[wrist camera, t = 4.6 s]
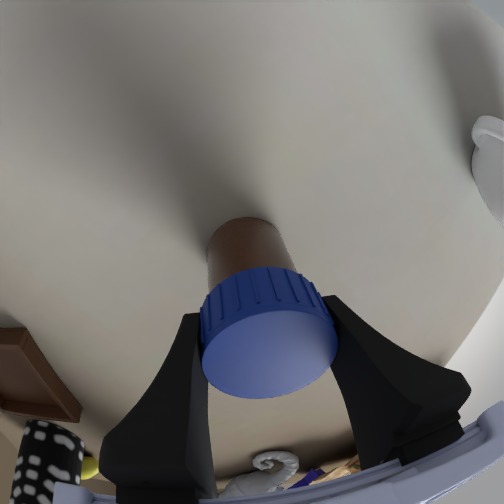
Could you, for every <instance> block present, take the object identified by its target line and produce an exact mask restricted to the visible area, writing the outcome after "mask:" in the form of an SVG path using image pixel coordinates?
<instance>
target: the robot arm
mask: <svg viewBox="0 0 504 504" xmlns="http://www.w3.org/2000/svg"><path fill="white" fill-rule="evenodd" d="M322 299H323V301H324V303H325V306H326V308H327V310H328V312H329V314H330V316H331V318H332V320H333V322H334V324H335V325H333V327H334V329H335V331H336V334H337V337H338V350H337V353H336V356H335V358H334V360H333V362H332V364H331V365H330V367H331V370H332V372H333V374H334V376H335V379H336V381H337V383H338V385H339V388H340V390H341V393H342V395H343V398H344V401H345V405H346V408H347V411H348V415H349V419H350V422H351V426H352V430H353V434H354V439H355V443H356V447H357V452H358V458H359V463H360V469H361V471H360V472H357V473H354V474H350V475H347V476H343V477H340V478H336V479H332V480H328V481H325V482H320V483H316V484H312V485H307V486H303V487H298V488H293V489H288V490H282V491H276V492H270V493H263V494H256V495H248V496H239V497H228V498H218V492H217V486H216V480H215V474H214V467H213V460H212V452H211V444H210V435H209V426H208V380H207V378H206V377H205V375H204V373H203V370H202V365H201V341H200V313H190V314H185V315H184V316H183V318H182V321H181V324H180V327H179V330H178V333H177V335H176V338H175V340H174V342H173V344H172V347H171V349H170V351H169V353H168V355H167V357H166V359H165V361H164V363H163V365H162V367H161V368H160V370H159V372H158V374H157V375H156V377H155V379H154V380H153V382H152V383H151V385H150V386H149V388H148V389H147V390H146V392H145V393H144V395H143V396H142V397H141V399H140V400H139V401H138V403H137V404H136V405H135V406H134V407H133V408H132V410H131V411H130V412H129V413H128V414H127V415H126V416H125V417H124V419H123V420H122V421H121V422H120V423H119V424H118V425H116V426H115V427H114V428H113V429H112V430H111V431H110V432H109V433H108V434H107V435H106V436H105V437H104V439H103V442H102V446H101V450H100V457H99V466H98V469H99V472H100V473H101V474H102V475H103V476H104V477H105V478H107V479H108V480H109V481H111V482H112V483H114V484H115V485H116V496H109V495H102V494H95V493H92V492H91V491H90V490H88V489H86V488H84V487H81V486H77V485H72V484H66V483H62V482H55V487H54V496H53V504H429V503H431V502H433V501H434V500H436V499H438V498H440V497H442V496H444V495H446V494H447V493H449V492H450V491H452V490H454V489H456V488H458V487H459V486H461V485H463V484H464V483H466V482H467V481H469V480H471V479H472V478H474V477H475V476H477V475H478V474H480V473H481V472H483V471H484V470H486V469H487V468H489V467H490V466H492V465H493V464H495V463H496V462H497V461H499V460H500V459H501V458H502V457H504V402H503V401H500V402H498V403H497V404H495V405H493V406H492V407H490V408H488V409H487V410H486V411H484V412H483V413H482V414H481V415H480V416H479V417H478V419H477V421H475V422H473V423H471V424H469V425H468V426H466V427H464V428H462V427H461V425H460V423H459V421H458V420H459V419H460V418H461V417H460V415H459V413H458V410H459V409H460V408H461V406H462V405H463V404H464V403H465V402H466V400H467V399H468V397H469V396H470V393H471V387H470V386H469V384H468V383H467V381H466V380H465V378H464V376H463V375H462V374H461V373H460V372H456V371H453V370H450V369H447V368H444V367H441V366H438V365H436V364H433V363H431V362H428V361H426V360H424V359H422V358H420V357H418V356H416V355H414V354H412V353H410V352H408V351H406V350H404V349H403V348H401V347H399V346H398V345H396V344H395V343H393V342H391V341H390V340H388V339H387V338H386V337H384V336H383V335H381V334H380V333H379V332H377V331H376V330H375V329H373V328H372V327H371V326H370V325H368V324H367V323H366V322H365V321H364V320H362V319H361V318H360V317H359V316H358V315H357V314H356V313H354V312H353V311H352V310H351V309H350V308H349V307H348V306H347V305H345V304H344V303H343V302H342V301H341V300H340V299H339V298H338V297H337V296H335V295H330V296H324V297H322Z"/></svg>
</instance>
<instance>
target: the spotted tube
mask: <svg viewBox="0 0 504 504" xmlns="http://www.w3.org/2000/svg"><path fill="white" fill-rule="evenodd" d="M84 449H85V445H84V443H83V442H82V441H81V440H80V439H79V438H78V437H77V436H75V435H74V434H72V433H70V432H69V431H67V430H65V429H63V428H61V427H58V426H56V425H53V424H50V423H47V422H43V421H38V420H30V421H27V423H26V426H25V430H24V433H23V437H22V441H21V445H20V450H19V454H18V459H17V463H16V468H15V473H14V478H13V484H12V490H11V496H10V503H9V504H53V496H54V487H55V482H62V483H66V484H72V485H77V486H80V480H81V471H82V463H83V456H84Z"/></svg>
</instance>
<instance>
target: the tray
mask: <svg viewBox="0 0 504 504" xmlns="http://www.w3.org/2000/svg"><path fill="white" fill-rule="evenodd" d="M0 411H1V412H4V413H9V414H14V415H20V416H26V417H32V418H39V419H46V420H54V421H63V422H73V423H79V420H80V415H81V411H82V407H81V406H80V405H79V403H78V402H77V401H76V400H75V398H74V397H73V396H72V395H71V393H70V392H69V391H68V389H67V388H66V387H65V385H64V384H63V383H62V381H61V380H60V379H59V377H58V376H57V374H56V373H55V372H54V370H53V369H52V367H51V366H50V364H49V363H48V361H47V360H46V358H45V357H44V355H43V354H42V352H41V351H40V349H39V348H38V346H37V345H36V343H35V341H34V340H33V338H32V337H31V335H30V333H29V332H28V330H27V328H0Z"/></svg>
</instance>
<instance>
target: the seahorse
mask: <svg viewBox="0 0 504 504" xmlns="http://www.w3.org/2000/svg"><path fill="white" fill-rule="evenodd" d="M271 458H273V459H274V460H276V459H278V461H280V462H283V463H284V464H285V466H283V467H282V468H281V469H280V470H278V472H272V473H268V472H265V471H260V470H263V469H266V468H271V467H273V465H274V463H273V462H272V461H268V460H266V461H264V463H268V464H267V465H265V464H264V463H262V464H261V463H260V462H261V461H263V460H265V459H271ZM298 461H299V460H298V457H297V456H295V455H293V454H291V453H290V452H288V451H286V452H284V451H271V452H264V453H262V454H260V455H257V456H256V457H255V458H254V459H253V461H252V462H253V465H254V467H257V468H259V469H260V470H259V471H255V472H252V473H248V474H242V475H239V476H237V477H236V478H234V479H233V480H231V481H230V482H229V483H228V485H226V487H225V489H224V490H223V491H221V492H219V493H218V498H228V497H239V496H248V495H256V494H263V493H270V492H276V491H282V490H283V489H284V488H283V487H277V486H279V485H280V484H282V482H284V481H287V480H288V479H289V478H290V477H291V476H293V475H294V474H295V472H296V471H297V469H299V463H298Z"/></svg>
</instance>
